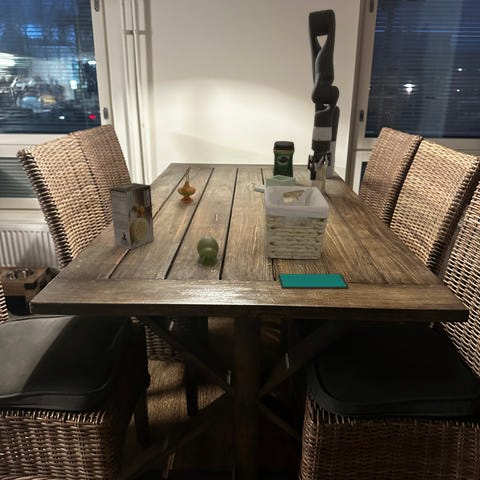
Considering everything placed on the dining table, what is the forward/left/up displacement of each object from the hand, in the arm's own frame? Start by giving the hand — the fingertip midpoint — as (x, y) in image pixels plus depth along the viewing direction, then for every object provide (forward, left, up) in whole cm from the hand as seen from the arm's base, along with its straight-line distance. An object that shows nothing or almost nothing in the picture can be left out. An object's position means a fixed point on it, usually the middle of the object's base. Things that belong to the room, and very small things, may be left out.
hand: (318, 178), depth 181 cm
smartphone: (+76, +44, -7) cm, 88 cm away
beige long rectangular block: (0, 0, -6) cm, 6 cm away
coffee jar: (-7, -22, -6) cm, 24 cm away
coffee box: (+88, -6, -6) cm, 88 cm away
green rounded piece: (+82, +18, -6) cm, 85 cm away
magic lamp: (+47, -29, -6) cm, 55 cm away
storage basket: (+59, +27, -6) cm, 66 cm away
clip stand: (+7, -14, -6) cm, 17 cm away
